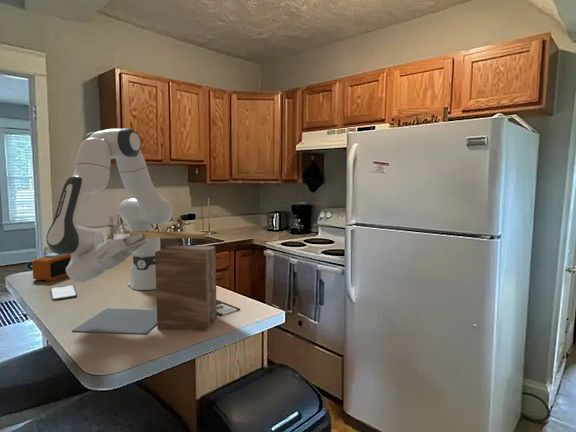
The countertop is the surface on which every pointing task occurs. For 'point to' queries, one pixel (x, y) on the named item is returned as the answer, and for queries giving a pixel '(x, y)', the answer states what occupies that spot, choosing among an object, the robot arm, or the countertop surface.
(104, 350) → the countertop surface
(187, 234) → the ochre block
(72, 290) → the phone case
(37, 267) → the alarm clock
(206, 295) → the walnut shelf
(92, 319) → the rubber mat
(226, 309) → the chocolate bar
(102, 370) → the countertop surface
